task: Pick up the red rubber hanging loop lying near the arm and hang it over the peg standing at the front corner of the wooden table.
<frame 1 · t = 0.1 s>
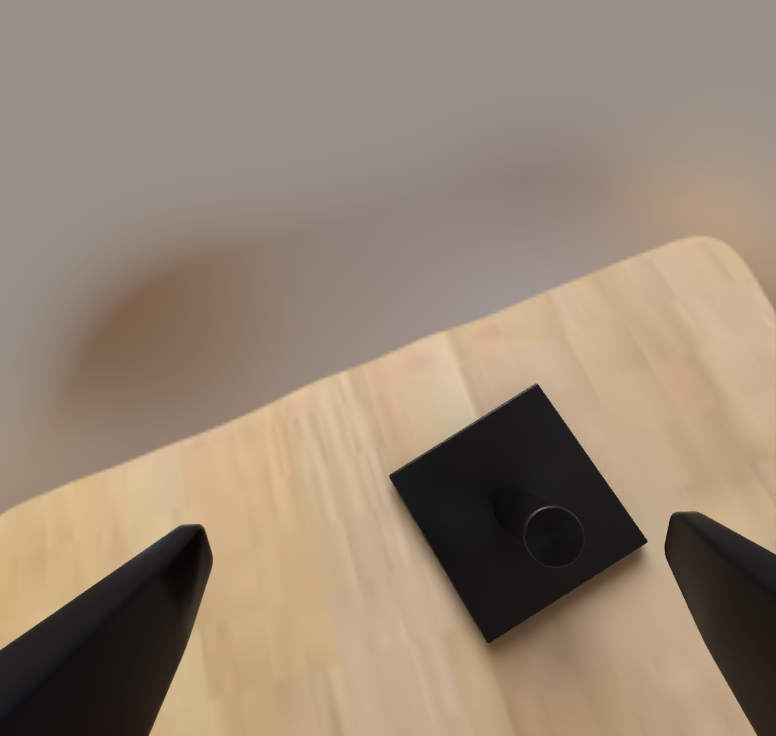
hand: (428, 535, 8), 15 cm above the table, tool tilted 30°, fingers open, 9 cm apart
peg: (510, 505, 22), on the table
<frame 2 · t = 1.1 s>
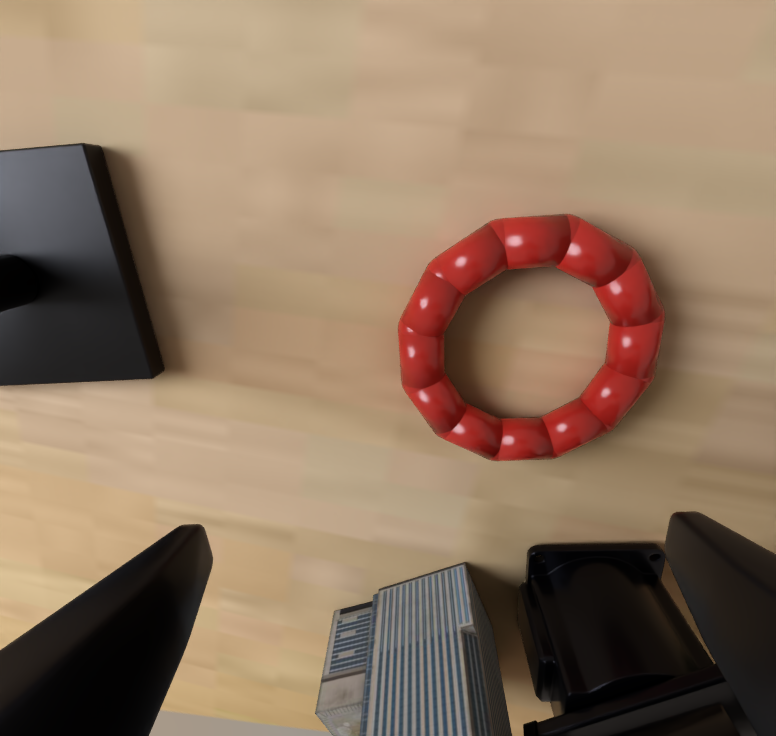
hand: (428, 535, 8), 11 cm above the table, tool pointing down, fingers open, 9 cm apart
peg: (33, 275, 18), on the table
ring: (525, 349, 17), point 1 cm above the table
building: (430, 615, 25), on the table
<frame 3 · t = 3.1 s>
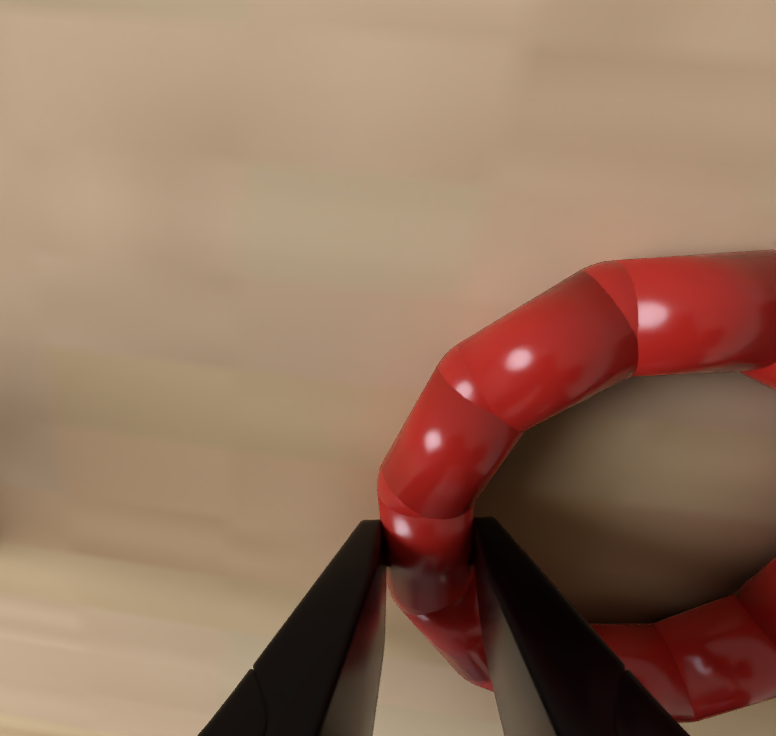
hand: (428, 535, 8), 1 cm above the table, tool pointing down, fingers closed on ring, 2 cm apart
ring: (645, 525, 8), point 1 cm above the table, touching gripper
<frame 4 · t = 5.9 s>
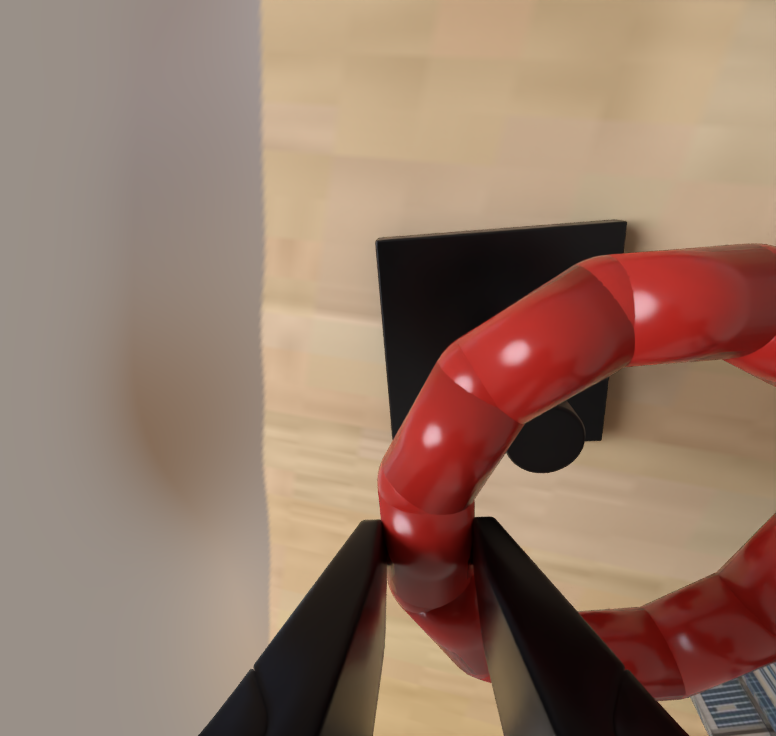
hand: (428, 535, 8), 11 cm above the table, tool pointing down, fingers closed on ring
peg: (492, 340, 18), on the table
ring: (637, 511, 9), point 11 cm above the table, touching gripper
building: (774, 666, 24), on the table, touching arm
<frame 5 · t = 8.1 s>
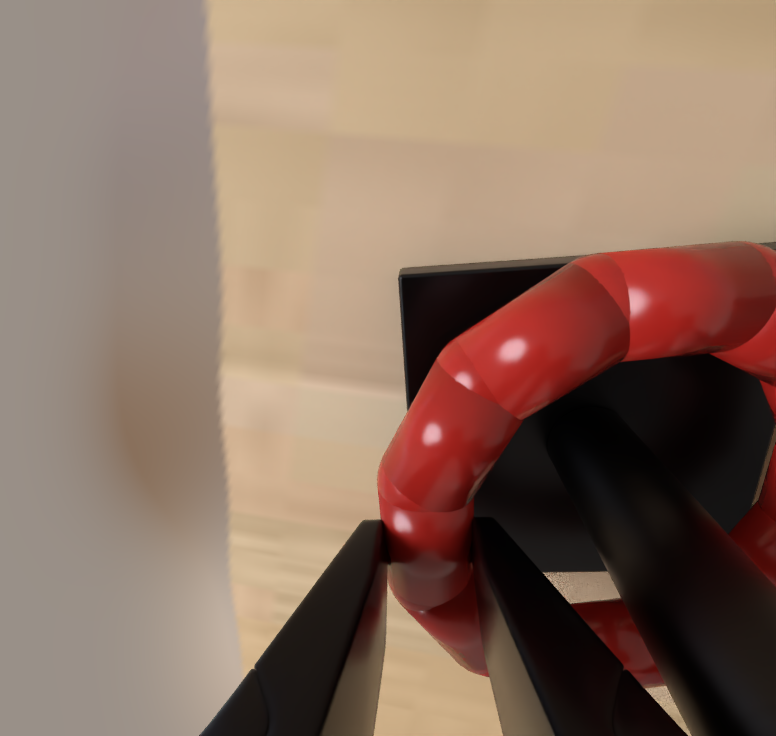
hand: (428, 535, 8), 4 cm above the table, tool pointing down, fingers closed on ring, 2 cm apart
peg: (573, 421, 12), on the table
ring: (629, 503, 9), point 3 cm above the table, tilted 7°, touching gripper
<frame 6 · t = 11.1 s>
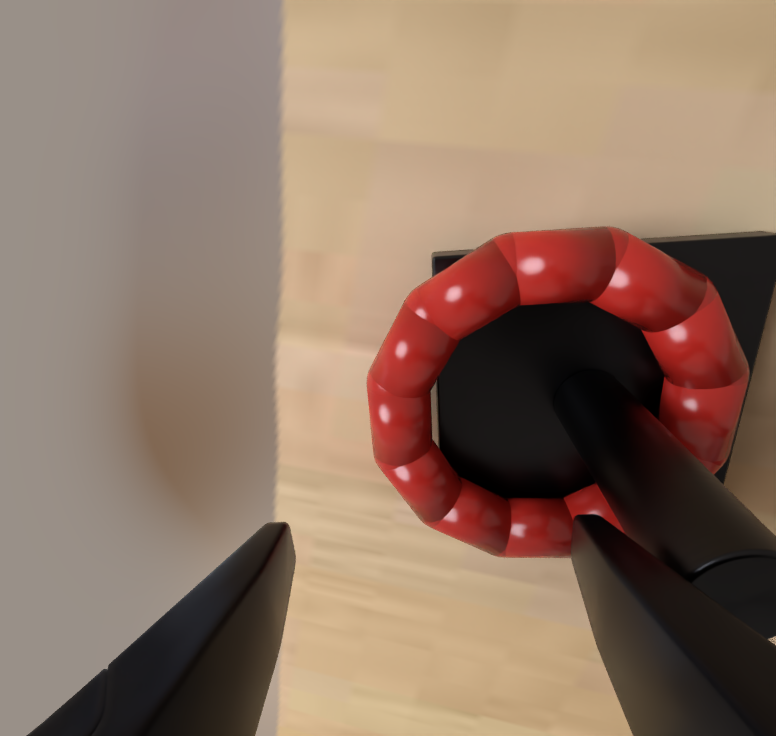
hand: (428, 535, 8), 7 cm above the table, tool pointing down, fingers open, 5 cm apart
peg: (576, 386, 14), on the table
ring: (544, 413, 12), point 2 cm above the table, touching peg
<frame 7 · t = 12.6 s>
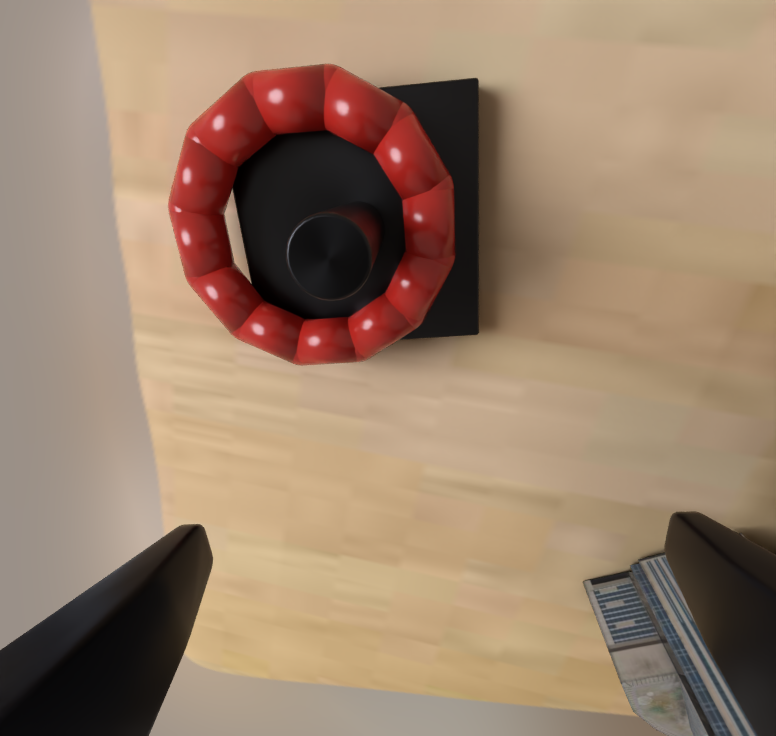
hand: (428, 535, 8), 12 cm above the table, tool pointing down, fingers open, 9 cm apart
peg: (360, 227, 17), on the table
ring: (314, 233, 16), point 2 cm above the table, touching peg
building: (682, 586, 24), on the table
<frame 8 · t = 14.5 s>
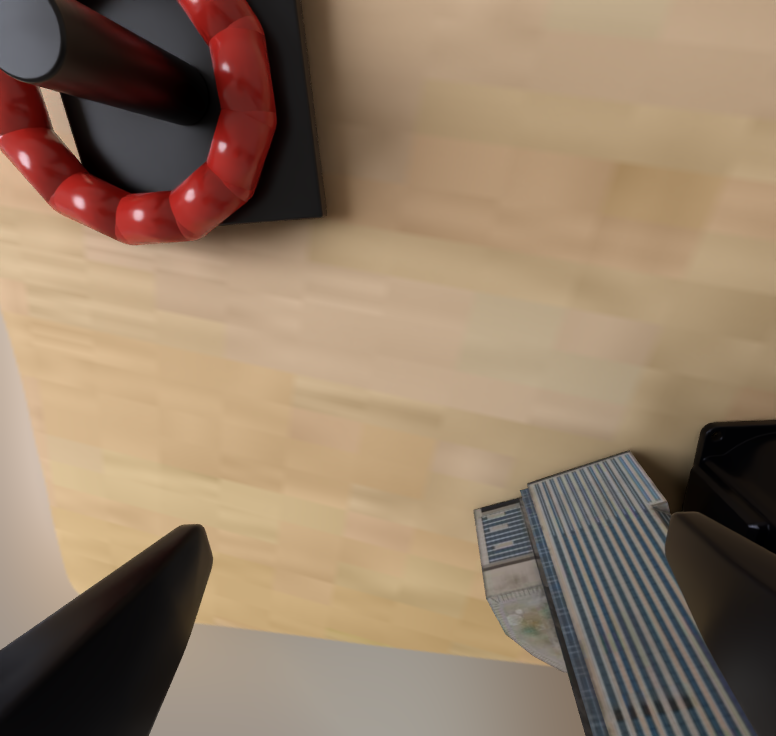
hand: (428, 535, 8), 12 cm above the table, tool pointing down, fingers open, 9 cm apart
peg: (194, 99, 16), on the table
ring: (125, 90, 15), point 2 cm above the table, touching peg
building: (577, 515, 23), on the table, touching arm
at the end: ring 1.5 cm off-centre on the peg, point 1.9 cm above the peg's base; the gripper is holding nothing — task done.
